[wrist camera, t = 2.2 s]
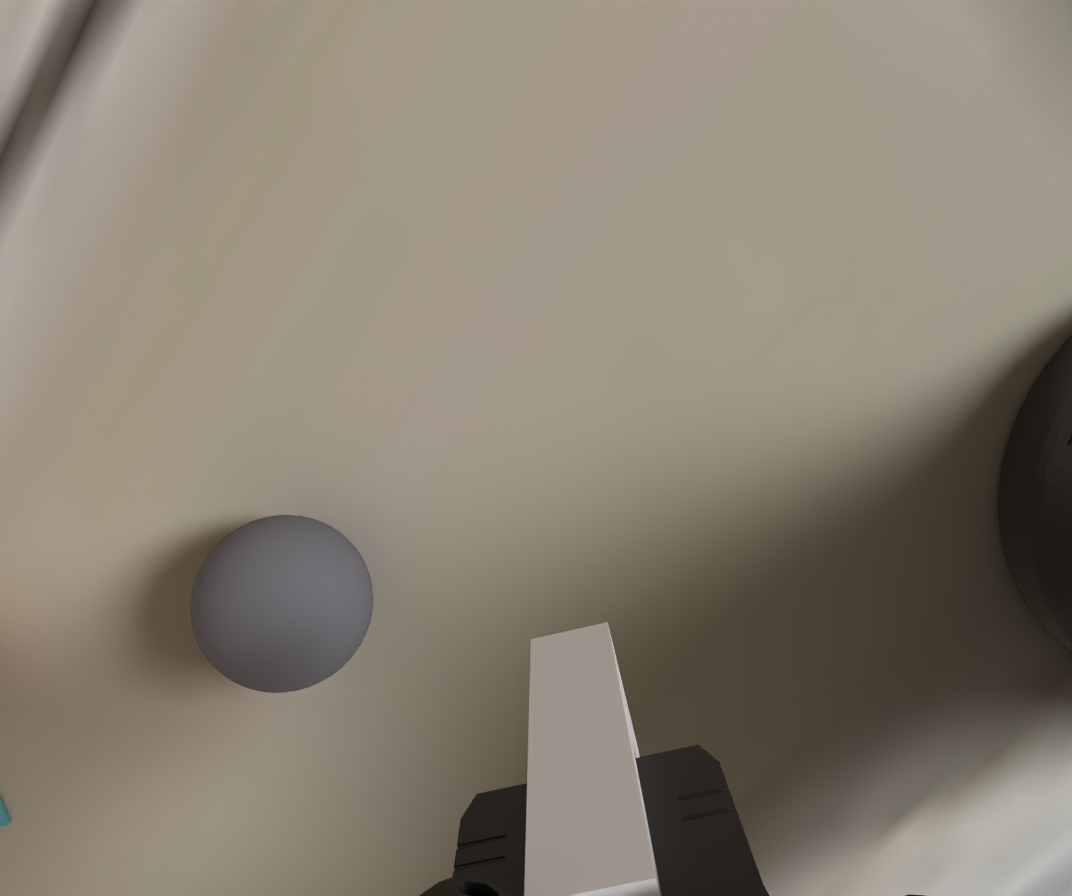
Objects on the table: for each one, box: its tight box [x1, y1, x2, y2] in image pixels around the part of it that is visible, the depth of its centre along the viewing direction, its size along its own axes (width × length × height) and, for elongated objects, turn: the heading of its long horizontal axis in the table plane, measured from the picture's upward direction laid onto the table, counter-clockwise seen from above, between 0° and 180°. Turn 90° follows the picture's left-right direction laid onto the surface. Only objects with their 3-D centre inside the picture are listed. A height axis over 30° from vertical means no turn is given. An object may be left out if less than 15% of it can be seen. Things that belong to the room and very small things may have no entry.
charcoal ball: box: [191, 515, 373, 693], centre depth 26 cm, size 6×6×6 cm
